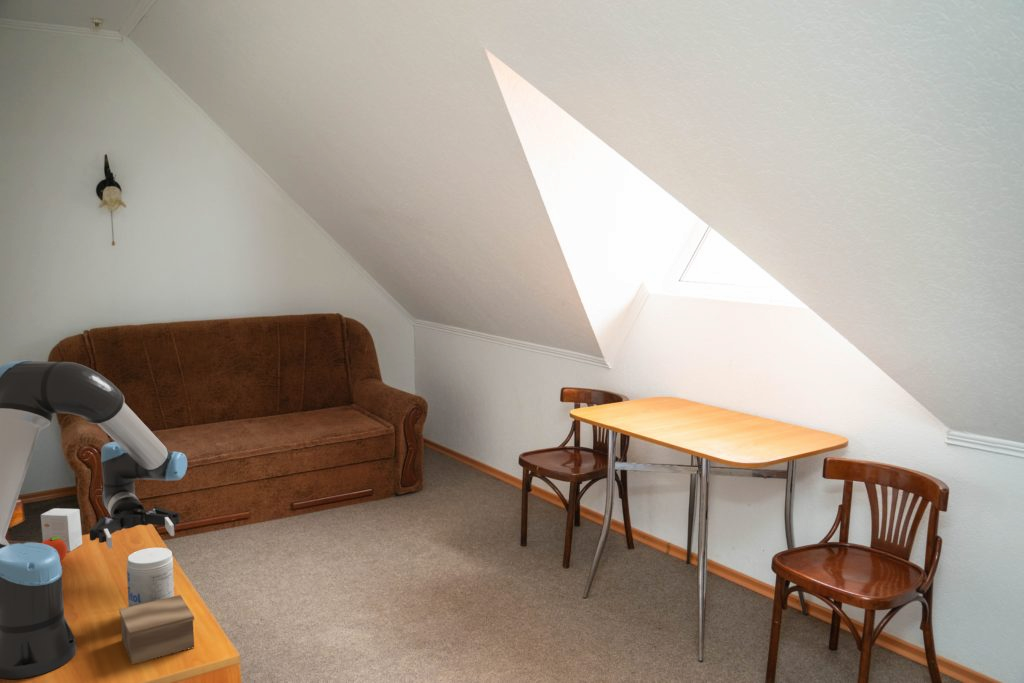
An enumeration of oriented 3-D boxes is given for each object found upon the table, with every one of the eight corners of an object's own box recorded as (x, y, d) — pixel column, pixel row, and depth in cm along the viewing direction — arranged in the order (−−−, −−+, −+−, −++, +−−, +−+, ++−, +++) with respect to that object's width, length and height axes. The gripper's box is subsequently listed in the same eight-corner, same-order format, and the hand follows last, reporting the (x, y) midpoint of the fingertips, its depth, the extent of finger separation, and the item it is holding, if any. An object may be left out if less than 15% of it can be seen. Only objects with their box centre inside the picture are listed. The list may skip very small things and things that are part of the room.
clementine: (62, 555, 216) (61, 530, 215) (77, 561, 212) (75, 535, 211) (32, 565, 209) (30, 539, 208) (46, 571, 206) (44, 545, 205)
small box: (82, 544, 224) (80, 508, 222) (70, 552, 218) (67, 515, 217) (56, 543, 224) (53, 507, 223) (42, 551, 219) (40, 514, 218)
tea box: (195, 647, 168) (193, 616, 167) (131, 665, 160) (129, 632, 160) (181, 624, 178) (180, 594, 177) (121, 640, 171) (119, 609, 170)
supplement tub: (120, 620, 180) (116, 558, 178) (156, 603, 188) (152, 543, 186) (148, 629, 175) (145, 566, 173) (184, 612, 183) (181, 551, 182)
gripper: (178, 514, 213) (197, 540, 196) (72, 534, 199) (84, 564, 181) (176, 487, 212) (196, 511, 195) (70, 505, 198) (81, 532, 180)
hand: (142, 536), depth 188 cm, fingers open, 13 cm apart
